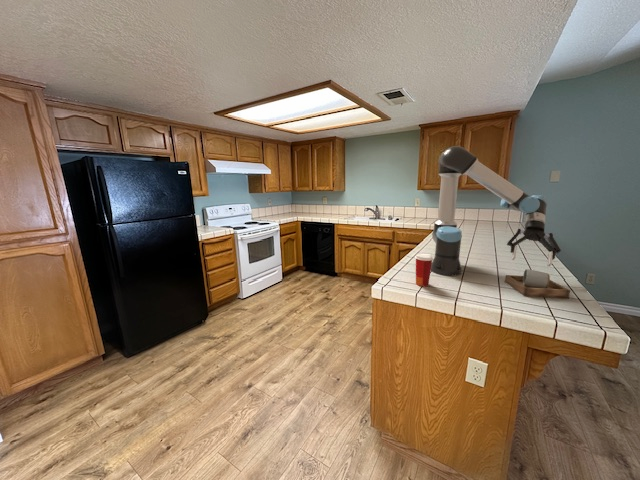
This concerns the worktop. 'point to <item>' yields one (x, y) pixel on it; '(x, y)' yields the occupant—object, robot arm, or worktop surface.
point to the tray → (550, 292)
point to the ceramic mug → (535, 279)
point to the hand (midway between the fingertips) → (531, 261)
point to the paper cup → (423, 269)
